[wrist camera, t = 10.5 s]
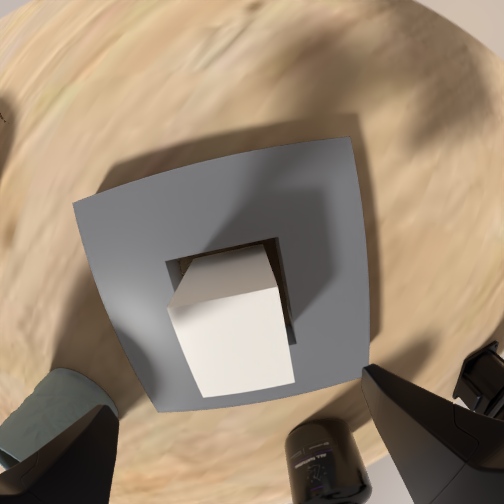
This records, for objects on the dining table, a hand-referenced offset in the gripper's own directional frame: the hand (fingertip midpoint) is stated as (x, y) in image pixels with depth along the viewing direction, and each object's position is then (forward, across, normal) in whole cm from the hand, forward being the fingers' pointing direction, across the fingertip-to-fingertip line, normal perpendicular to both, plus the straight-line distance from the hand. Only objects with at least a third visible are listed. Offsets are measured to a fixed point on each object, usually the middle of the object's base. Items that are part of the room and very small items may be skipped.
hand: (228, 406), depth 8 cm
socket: (+10, 0, 0) cm, 10 cm away
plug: (+10, 0, 0) cm, 10 cm away
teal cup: (+10, +18, +9) cm, 23 cm away
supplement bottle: (+10, -4, +18) cm, 21 cm away
